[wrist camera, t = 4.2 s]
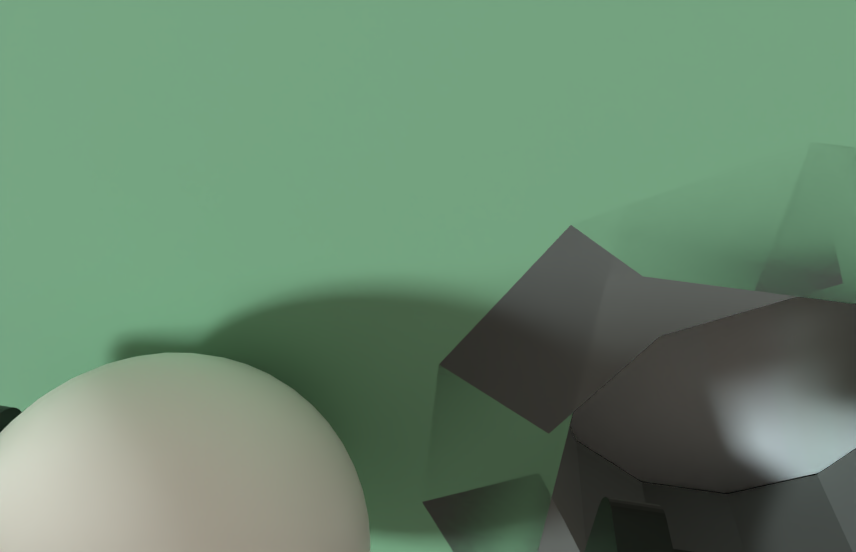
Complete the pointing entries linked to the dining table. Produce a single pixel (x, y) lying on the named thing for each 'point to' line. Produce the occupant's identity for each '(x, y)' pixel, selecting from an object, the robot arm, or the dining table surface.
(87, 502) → the ball
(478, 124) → the green flat slab
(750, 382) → the dining table surface
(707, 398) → the dining table surface
